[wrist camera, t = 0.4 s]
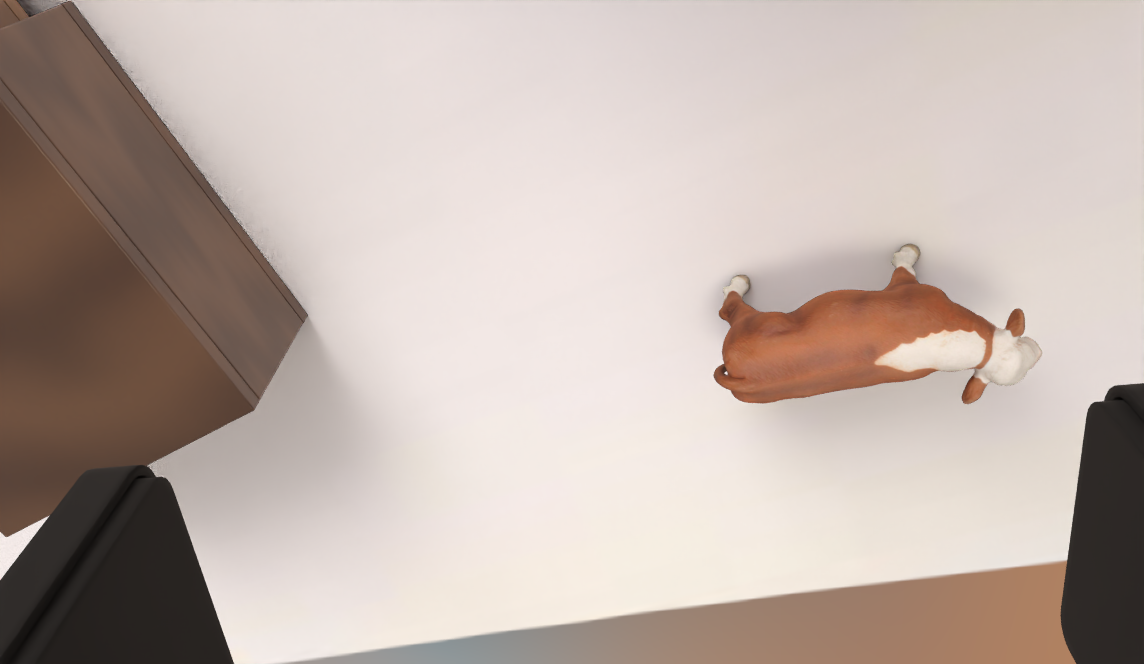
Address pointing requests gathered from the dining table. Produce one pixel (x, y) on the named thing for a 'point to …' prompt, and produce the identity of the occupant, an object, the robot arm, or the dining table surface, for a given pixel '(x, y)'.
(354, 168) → the dining table surface
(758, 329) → the bull figurine
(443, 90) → the dining table surface
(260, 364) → the cabinet
